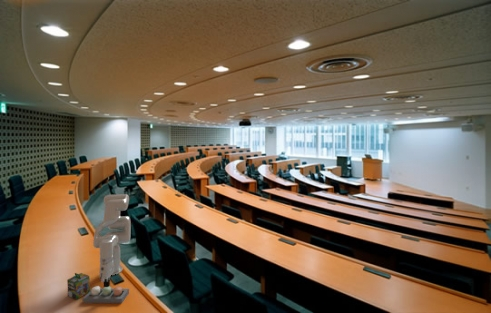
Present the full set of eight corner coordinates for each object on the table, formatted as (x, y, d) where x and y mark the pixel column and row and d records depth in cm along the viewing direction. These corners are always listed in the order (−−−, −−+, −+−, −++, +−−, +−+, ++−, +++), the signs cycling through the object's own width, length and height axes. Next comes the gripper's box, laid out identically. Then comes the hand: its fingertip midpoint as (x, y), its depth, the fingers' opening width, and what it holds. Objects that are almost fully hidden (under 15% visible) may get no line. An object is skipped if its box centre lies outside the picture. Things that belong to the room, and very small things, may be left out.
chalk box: (90, 292, 161) (90, 271, 160) (76, 300, 152) (75, 278, 151) (81, 288, 164) (81, 267, 163) (67, 296, 156) (66, 274, 155)
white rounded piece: (89, 296, 153) (89, 290, 153) (94, 291, 158) (94, 286, 157) (97, 296, 153) (97, 290, 153) (101, 291, 158) (101, 286, 158)
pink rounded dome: (112, 296, 154) (112, 291, 153) (115, 292, 158) (115, 286, 158) (119, 297, 154) (119, 291, 153) (123, 292, 158) (123, 286, 158)
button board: (83, 302, 150) (83, 298, 150) (92, 292, 160) (92, 288, 160) (121, 303, 151) (121, 298, 151) (128, 293, 161) (128, 288, 161)
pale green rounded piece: (101, 296, 153) (100, 290, 153) (105, 292, 158) (105, 286, 158) (108, 296, 153) (108, 291, 153) (112, 292, 158) (112, 286, 158)
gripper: (106, 265, 146) (106, 293, 148) (118, 253, 161) (118, 279, 163) (93, 264, 146) (93, 293, 147) (106, 253, 161) (107, 279, 162)
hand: (106, 286), depth 155 cm, fingers closed
